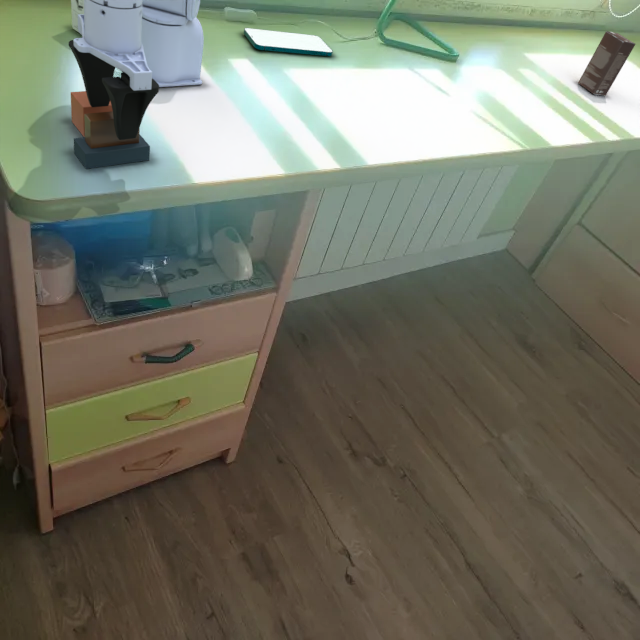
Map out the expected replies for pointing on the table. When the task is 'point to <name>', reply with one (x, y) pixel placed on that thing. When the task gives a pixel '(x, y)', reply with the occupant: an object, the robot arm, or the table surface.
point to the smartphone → (287, 42)
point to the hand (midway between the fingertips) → (112, 121)
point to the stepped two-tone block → (107, 143)
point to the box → (606, 63)
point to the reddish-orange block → (83, 109)
